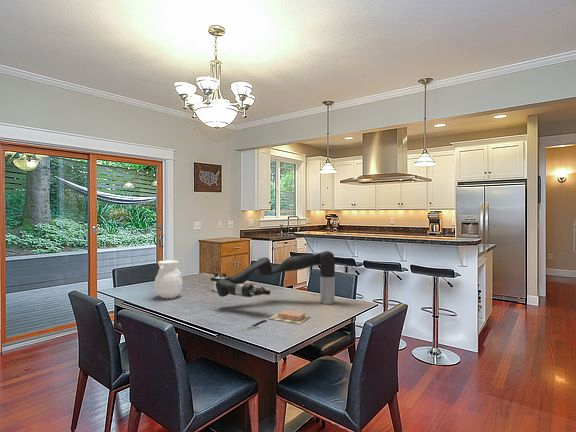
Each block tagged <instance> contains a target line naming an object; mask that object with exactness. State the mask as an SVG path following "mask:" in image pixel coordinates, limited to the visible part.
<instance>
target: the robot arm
mask: <svg viewBox="0 0 576 432" xmlns="http://www.w3.org/2000/svg"><path fill="white" fill-rule="evenodd" d="M319 265H320V266H319ZM335 265H336V258H335V255H334V253H333V252H331V251H329V250H325V251H321V252H318V253H314V254H302V255H301V254H300V255H294V256H288V257H287V258H286V259H284V261H282V262H281V263H280V264H278V265H274V266H272V264H271V260H270V258H268V257H261V258H259V259H258V260H256V261H254V262H252V264H250V265H249V266H248V267H246V268H245V269H244V270H242V271H240V272H239V273H236V274H234V275H233V276H230V277H231V278H230V279H229V281H228V280H225V279H221V280H218V281H217V282H216V288H217V291H218V292H217V291H216V292H217V294H218V296H219V297H221V298H222V297H223V298H224V297H227V296H229V295H231V296H239V297H244V298H251V297H255V296H257V297H258V296H261V295H264V296H265V295H267V296H269V295H271V290H270V289H269V290H267V289H266V288H264V287H263V286H261V287H258V286H256V287H255V286H254V285H253V284H252V283H251V284H250V283H246V282H247V281H248V280H249V278H250V277H251V275H252V274H253V273H254V272H255V271H256V270H257V272H258V275H259V276H261V277H266V276H271V275H275V274H280V273H285V272H291V271H292V272H293V271H299V270H304V269H308V268H310V267H313V266H319V269H320V270H319V272H320V273H319V276H320V277H319V278H320V280H319V281H320V284H319V285H320V287H319V288H320V294H319V295H320V296H319V297H320V299H319V301H320V304H322V305H333V304H335V302H336V301H335V300H336V299H335V290H336V289H335V285H336V283H335V281H336V280H335V277H336V276H335V270H336V268H335V267H336V266H335Z"/></svg>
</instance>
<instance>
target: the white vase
mask: <svg viewBox="0 0 576 432" xmlns="http://www.w3.org/2000/svg"><path fill="white" fill-rule="evenodd" d="M157 264H158V267H159V269H158V271H157V274H156V275H155V279H154V284H153V285H154V290H155V292H156V293H157V295H158V296H159V297H161V299H164V298H166V299H167V300H168V298H171V299H175V298H176V297H177V296H178V295H179V294H180V292H181V290H182V287H183V277H182V273H181V271H180V270H179V269H178V265H179V260H175V259H173V260H171V259H168V260H159V261H158V262H157ZM166 299H165V300H166Z"/></svg>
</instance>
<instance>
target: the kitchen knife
mask: <svg viewBox="0 0 576 432" xmlns="http://www.w3.org/2000/svg"><path fill="white" fill-rule="evenodd" d="M267 322H268V320H266V319H262V320H261V321H259V322H256V323H254V324H252V325H249V326H248V327H246V328H247V330H243V329H239V330H238V331H236V332H237V333H238V332H245V331H252V330H257V329H258V330H259V329H262V327H259V325H261V324H263V323H267Z"/></svg>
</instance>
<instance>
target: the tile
mask: <svg viewBox="0 0 576 432" xmlns="http://www.w3.org/2000/svg"><path fill="white" fill-rule="evenodd" d="M277 314H278V317H279V318H282V319H289V320H295V321H300V320H302V319H303V318H305V316H306V312H302V311H296V310H288V309H284V310H281V311H280V312H278V313H277Z"/></svg>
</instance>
